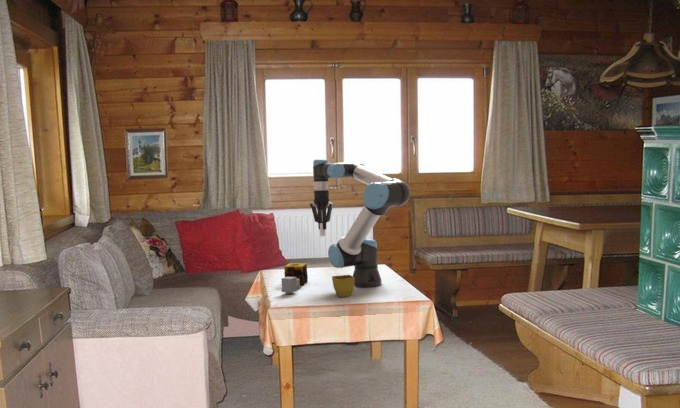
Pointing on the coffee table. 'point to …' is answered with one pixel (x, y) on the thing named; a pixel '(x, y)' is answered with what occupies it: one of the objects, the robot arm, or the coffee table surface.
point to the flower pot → (343, 285)
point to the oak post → (298, 284)
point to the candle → (297, 272)
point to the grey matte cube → (289, 284)
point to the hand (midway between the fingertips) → (322, 235)
